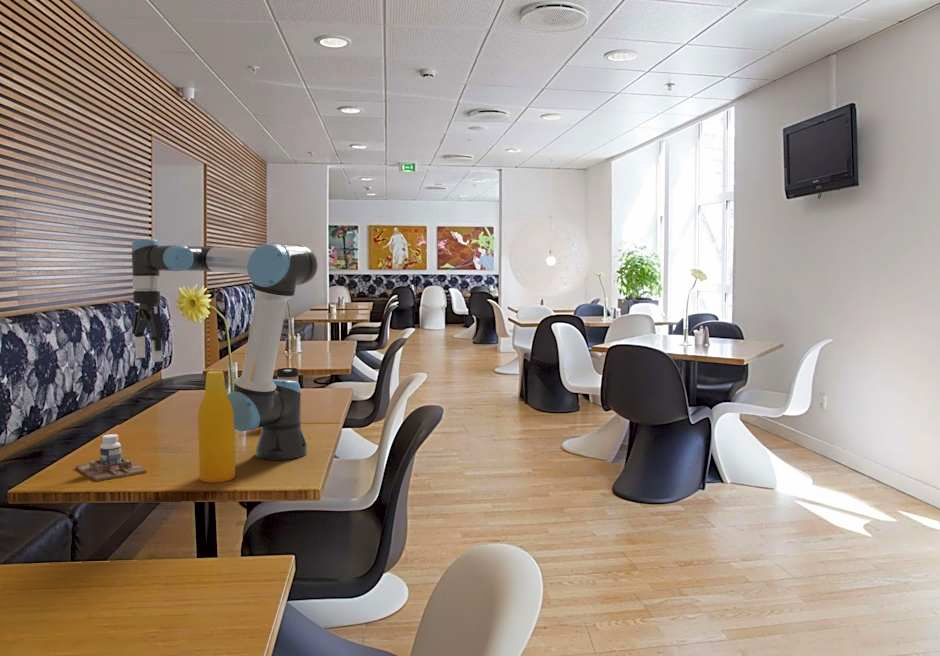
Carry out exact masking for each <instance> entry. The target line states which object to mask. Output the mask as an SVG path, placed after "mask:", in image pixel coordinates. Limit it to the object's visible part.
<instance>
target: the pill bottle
mask: <svg viewBox="0 0 940 656" xmlns="http://www.w3.org/2000/svg"><path fill="white" fill-rule="evenodd" d="M121 445H122V444H121V443H120V442H119V434H117V433H114V434H112V433H111V434H110V433H109V434H105V435H102V443H101V444H100V446H99V451H100V452H99V453H100V455H99V456H100V459H101V465H108V464H110V465H111V469H113V468H118V467H119V463H120V462H121V456H122V446H121Z"/></svg>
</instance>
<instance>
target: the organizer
mask: <svg viewBox="0 0 940 656" xmlns="http://www.w3.org/2000/svg"><path fill="white" fill-rule="evenodd" d="M75 469H77V470H78V471H79V472H81V473H83V475H86V476H87V477H89V478H90V479H92V480H93V481H95V482H100V481H101V482H102V481H107V480H112V479H118V478H123V477H129V476H135V475H138V474H139V475H140V473H141V474H145V473H147V469H146V468H144V467H142V466H140V465H138V464H136V463H134V462H132V461H131V460H130V459H128V458H125V457H124V456H122V455H121V462H120V463H119V467H118V468H113V469H111V465H110V464H108V465H101V458H99V459H94V460H89V463H83V464H77V465H75Z"/></svg>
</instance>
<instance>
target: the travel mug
mask: <svg viewBox="0 0 940 656" xmlns="http://www.w3.org/2000/svg"><path fill="white" fill-rule="evenodd" d="M276 379H279V380H294V381H297V382H298V383H299V369H298V368H297V367H282V368H277V369H276Z"/></svg>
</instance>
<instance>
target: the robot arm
mask: <svg viewBox="0 0 940 656" xmlns="http://www.w3.org/2000/svg"><path fill="white" fill-rule="evenodd" d="M130 254H131V265H132V267H131V269H132V290H134V291H133V292H132V294H133V295H132V296H133V297H132V299H133V303H134V304H137V305H135V306H134V316H133V323H132V331H131V333H132V335H134V340H135V341H134V343H135V345H134V347H135V358H136V359H142V358H143V359H144V358H147V357H146V336H147V335H146V332H145V331H146V327H147V325H148V328H149V331H150V334H151V338H150V341H151V362H152V363H157V362H158V363H159V362H163V348H162V347H163V345H162V343H163V342H162V341H163V339H165V338H166V334H165V330H164V324H163V321H162V315H161V308H160V306H156V305H155V304H159V303H160V302H161V291H160V290H159V289H160V288H161V287H160V283H161V282H162V279H161V278H160V271H165V272H166V271H169V272H170V271H171V272H182V271H184V272H188V271H191V272H192V271H193V272H196V271H200V272H215V273H216V272H217V273H218V272H219V273H230V274H245V275H246V274H247V275H249V280H250V281H251V282H252V284H251V285H252V286H251V289H252V290H253V292H254V293H255V300H254V305H253V312H252V316H251V323H250V326H249V327H250V328H249V333H248V339H247V343H246V350H245V355H244V356H245V357H244V360H243V367H242V372H241V375H240V376H239V377H236V379H235V380H234V385H233V388H232V391H230V392H229V393H228V394H227V397H228V399H229V400H230V402H231V405H232V407H233V412H234V431H238V432H249V431H255V430H257V429H260V428H261V431H260V434H259V438H258V441H257V444H256V449H255V456H256V457H257V458H258V459H261V460H269V461H285V460H292V459H297V458H301V457H303V456H306V455H307V454H308V446H307V445H308V444H307V442H306V440H305V437H304V434H303V430H302V426H301V425H302V419H301V417H302V416H301V415H302V414H301V413H302V412H301V411H302V410H301V408H302V407H301V395H302V392H301V385H300V383H299V381H298V382H297V381H294V380H279V379H277V378H276V379H275V378H274V373H275V369H276V362H277V358H278V353H279V347H280V342H281V341H280V340H281V337H282V331H283V325H284V320H285V315H286V309H287V305H288V301H289V300H290V299H291V298H293V297H294V296H295V292H296V288H297V286H299V285H300V286H301V285H305V284H307V283H308V282H311V280H312V279H313V278H314V277H315V275H316V274H317V271H318V265H319V264H318V260H317V257H316V255H315V253H314V252H313V251H312V250H311V249H310V248H309V247H307V246H304V245H301V244H289V243H287V244H286V243H276V242H274V243H264V244H262V245H260V246H257V247H256V248H255V249H254V248H252V249H251V248H237V247H235V248H234V247H232V248H231V247H212V246H204V245H203V246H192V245H191V246H189V245H182V244H181V245H180V244H173V245H172V244H171V245H159V240H157V239H152V238H151V239H150V238H142V239H141V238H136V239H134V240H132V243H131V253H130Z"/></svg>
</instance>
